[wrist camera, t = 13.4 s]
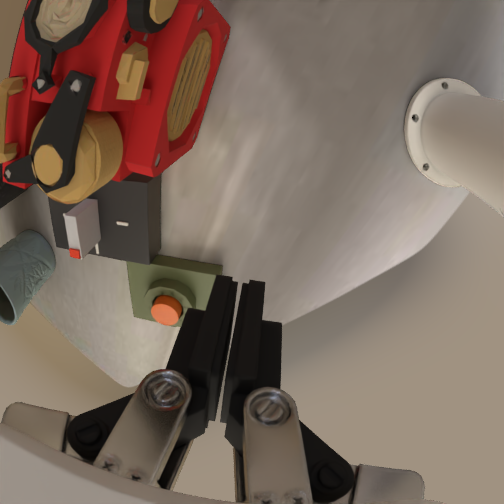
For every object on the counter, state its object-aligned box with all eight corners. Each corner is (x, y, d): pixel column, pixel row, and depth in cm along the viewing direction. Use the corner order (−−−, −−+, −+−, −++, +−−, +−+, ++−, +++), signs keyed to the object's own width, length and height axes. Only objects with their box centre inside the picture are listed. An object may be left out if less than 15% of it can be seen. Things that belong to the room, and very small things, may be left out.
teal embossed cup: (68, 276, 41) (27, 327, 31) (32, 280, 43) (-6, 324, 32) (42, 219, 36) (-10, 263, 26) (8, 230, 38) (-38, 269, 27)
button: (182, 297, 36) (178, 307, 35) (182, 318, 38) (178, 328, 36) (154, 292, 36) (149, 301, 35) (156, 313, 38) (151, 322, 36)
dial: (86, 198, 30) (62, 215, 26) (97, 199, 30) (74, 217, 26) (90, 237, 32) (69, 258, 28) (101, 239, 32) (81, 260, 28)
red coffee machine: (194, 154, 31) (94, 248, 13) (112, 133, 30) (-25, 200, 12) (238, 15, 23) (179, -81, 5) (147, 2, 22) (16, -50, 5)
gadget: (161, 171, 32) (147, 183, 28) (161, 248, 37) (149, 266, 33) (64, 164, 32) (44, 174, 28) (71, 232, 37) (55, 247, 33)
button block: (222, 265, 37) (217, 284, 34) (217, 322, 43) (212, 343, 39) (133, 250, 37) (120, 267, 34) (139, 307, 43) (129, 325, 39)
